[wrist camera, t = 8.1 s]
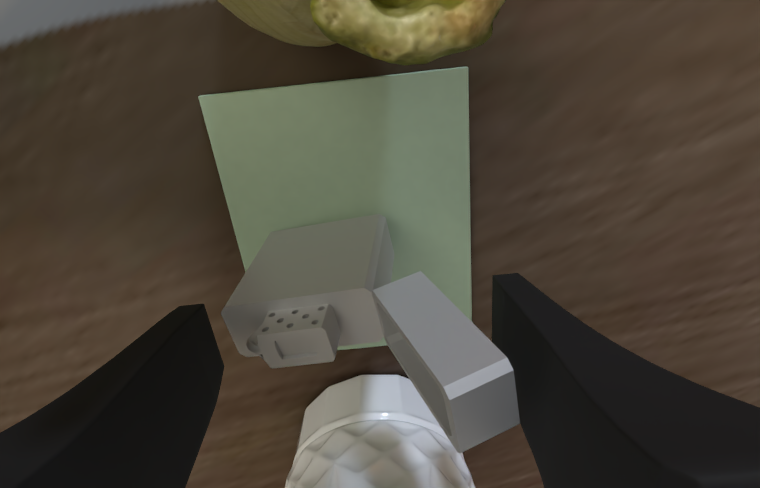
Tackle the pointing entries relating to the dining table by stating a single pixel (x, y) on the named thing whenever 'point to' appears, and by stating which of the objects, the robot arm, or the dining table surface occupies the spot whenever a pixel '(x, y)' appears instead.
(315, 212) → the sticky note
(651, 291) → the dining table surface
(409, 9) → the fennel bulb
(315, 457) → the white cup
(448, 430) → the lighter
